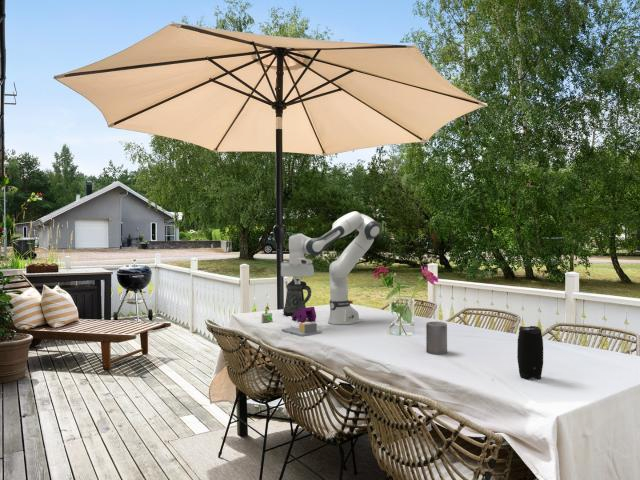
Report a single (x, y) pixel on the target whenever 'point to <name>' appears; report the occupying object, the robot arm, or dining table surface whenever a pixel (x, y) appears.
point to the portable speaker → (530, 352)
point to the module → (303, 326)
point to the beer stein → (296, 297)
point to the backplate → (309, 330)
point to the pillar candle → (436, 338)
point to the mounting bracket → (305, 314)
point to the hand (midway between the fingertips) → (297, 284)
